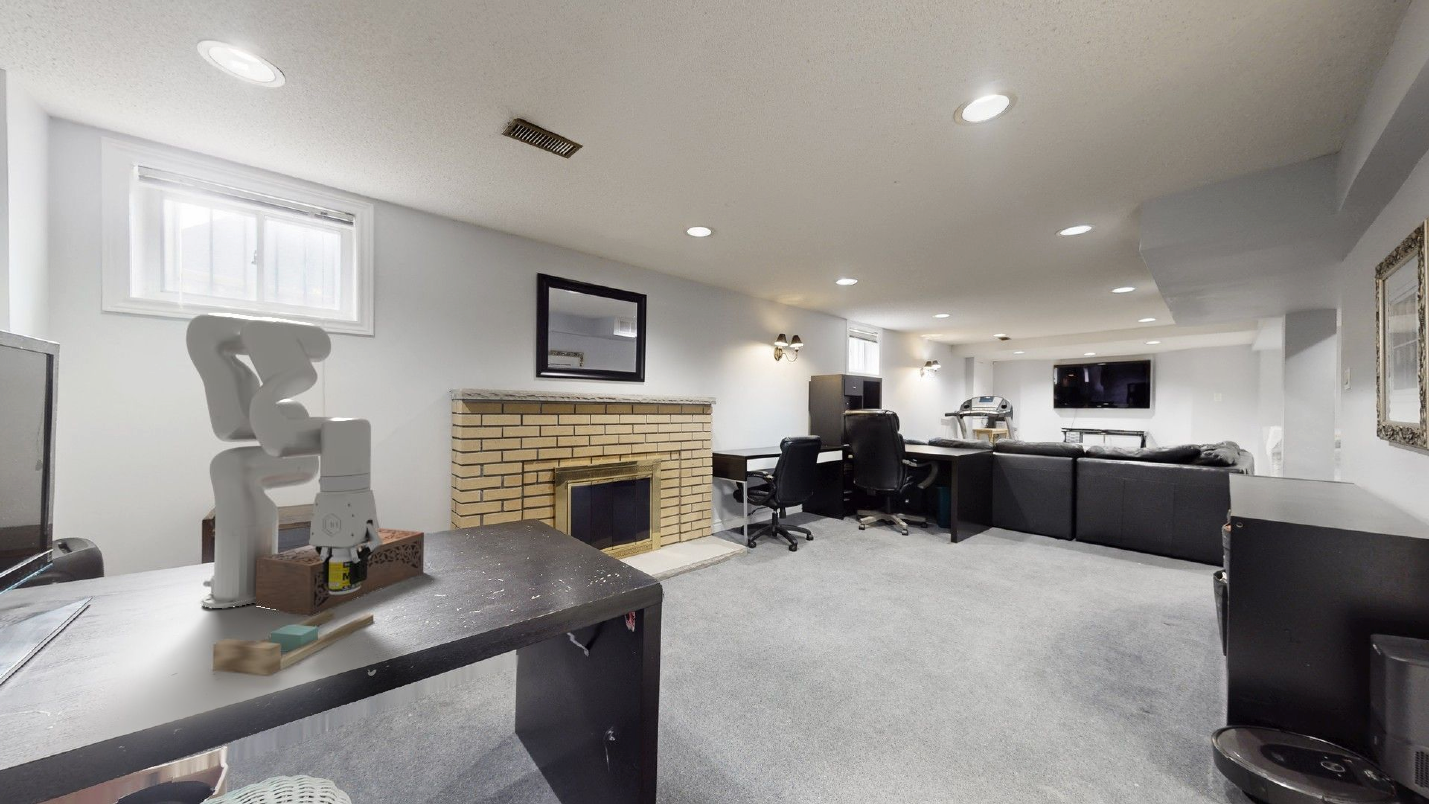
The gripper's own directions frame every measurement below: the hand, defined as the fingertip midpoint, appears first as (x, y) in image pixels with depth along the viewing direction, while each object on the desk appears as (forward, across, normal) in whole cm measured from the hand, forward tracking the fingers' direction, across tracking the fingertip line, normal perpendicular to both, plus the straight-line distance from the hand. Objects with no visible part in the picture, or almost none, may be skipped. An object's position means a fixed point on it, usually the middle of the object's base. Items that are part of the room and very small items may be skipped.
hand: (345, 580), depth 90 cm
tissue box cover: (+8, -15, +15) cm, 23 cm away
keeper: (+8, -1, -9) cm, 12 cm away
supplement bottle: (+2, 0, 0) cm, 2 cm away
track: (+8, -1, -7) cm, 11 cm away
